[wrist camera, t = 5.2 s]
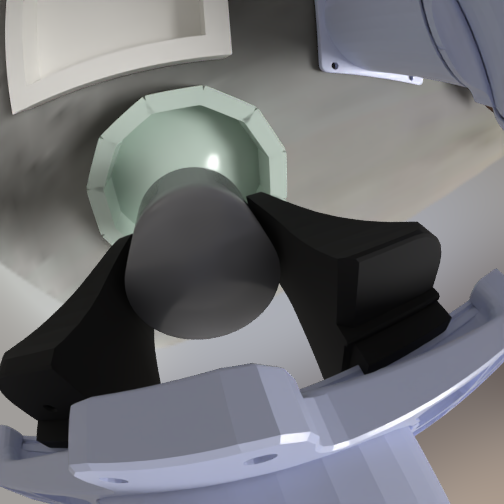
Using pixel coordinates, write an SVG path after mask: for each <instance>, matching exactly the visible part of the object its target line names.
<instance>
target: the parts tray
mask: <svg viewBox="0 0 504 504" xmlns="http://www.w3.org/2000/svg"><path fill="white" fill-rule="evenodd" d="M5 49H6V67H7V78H8V87H9V94H10V101H11V108H12V113H13V114H16V113H19V112H23V111H26V110H29V109H33V108H35V107H37V106H40V105H42V104H44V103H47V102H49V101H51V100H54V99H56V98H59V97H61V96H64V95H66V94H69V93H72V92H74V91H77V90H80V89H83V88H86V87H89V86H92V85H95V84H98V83H101V82H104V81H108V80H111V79H115V78H118V77H122V76H126V75H130V74H134V73H138V72H142V71H147V70H152V69H156V68H161V67H167V66H172V65H178V64H185V63H192V62H199V61H207V60H217V59H224V58H226V57H228V56H230V55H232V45H231V33H230V20H229V8H228V0H7V2H6V19H5Z"/></svg>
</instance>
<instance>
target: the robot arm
mask: <svg viewBox="0 0 504 504" xmlns="http://www.w3.org/2000/svg"><path fill="white" fill-rule="evenodd" d="M315 10H316V23H317V38H318V56H319V68H320V69H321V70H322V71H323V72H328V73H342V74H352V75H361V76H369V77H376V78H383V79H389V80H395V81H401V82H406V83H411V84H416V85H421V84H422V83H423V78H426V79H431V80H436V81H441V82H446V83H450V84H455V85H459V86H463V87H467V88H469V90H470V91H471V93H472V95H473V98H474V100H475V102H477V103H480V104H483V105H486V106H489V107H492V108H493V111H494V115H495V118H496V120H497V122H498V124H499V125H500V127H501V128H502V129H503V130H504V0H315ZM332 63H334V64H335V69H333V68H332ZM409 76H410V79H409ZM246 198H247V202H248V205H249V207H250V209H251V210H252V212H253V214H254V215H255V217H256V218H257V220H258V222H259V223H260V225H261V226H262V228H263V230H264V231H265V233H266V235H267V236H268V238H269V239H270V241H271V243H272V244H273V246H274V248H275V250H276V252H277V255H278V258H279V262H280V280H279V283H280V285H281V287H282V288H283V290H284V291H285V293H286V295H287V296H288V298H289V300H290V302H291V304H292V306H293V308H294V310H295V312H296V314H297V316H298V319H299V321H300V323H301V325H302V328H303V330H304V332H305V335H306V337H307V339H308V341H309V344H310V346H311V348H312V351H313V353H314V356H315V358H316V360H317V363H318V365H319V368H320V371H321V373H322V376H323V378H324V380H322V381H320V382H318V383H315V384H313V385H310V386H307V387H305V388H302V389H300V390H299V388H298V385H297V383H296V381H295V379H294V378H293V377H292V376H291V375H290V374H289V373H288V372H287V371H286V370H285V369H284V368H281V367H277V366H268V365H261V364H254V363H250V364H244V365H238V366H232V367H226V368H219V369H216V370H213V371H209V372H205V373H201V374H198V375H194V376H190V377H187V378H182V379H179V380H174V381H170V382H166V383H162V384H161V383H160V378H159V372H158V367H157V360H156V353H155V344H154V328H152V327H151V326H149V325H148V324H146V323H145V322H144V321H143V320H142V319H141V318H140V317H139V316H138V315H137V314H136V312H135V311H134V310H133V308H132V306H131V305H130V303H129V300H128V298H127V294H126V290H125V271H126V266H127V260H128V255H129V250H130V245H131V241H132V236H133V233H132V234H130V235H127V236H124V237H122V238H119V239H118V240H117V241H116V242H115V243H114V244H113V245H112V246H111V248H110V249H109V250H108V251H107V253H106V254H105V255H104V256H103V258H102V259H101V260H100V262H99V263H98V264H97V266H96V267H95V268H94V269H93V271H92V272H91V273H90V274H89V276H88V277H87V278H86V279H85V281H84V282H83V283H82V284H81V286H80V287H79V288H78V289H77V290H76V291H75V293H74V294H73V295H72V296H71V297H70V298H69V299H68V300H67V301H66V302H65V303H64V304H63V305H62V306H61V307H60V308H59V309H58V310H57V311H56V312H55V313H54V314H53V315H52V316H51V317H50V318H49V319H48V320H47V321H46V322H44V323H43V324H42V325H41V326H40V327H39V328H38V329H36V330H35V331H34V332H33V333H31V334H30V335H29V336H28V337H26V338H25V339H24V340H22V341H21V342H19V343H18V344H17V345H15V346H14V347H12V348H11V349H10V350H8V351H7V352H5V353H4V356H3V358H2V361H1V364H0V391H1V392H2V393H3V394H4V396H5V397H6V398H7V399H8V400H10V401H11V402H12V403H13V404H14V405H16V406H17V407H19V408H20V409H21V410H23V411H24V412H26V413H27V414H28V415H30V416H31V417H33V418H34V419H36V420H38V427H37V436H23V435H22V434H20V433H19V432H18V431H16V430H14V429H13V428H11V427H9V426H5V425H0V486H1V487H3V488H5V489H8V490H10V491H12V492H15V493H18V494H20V495H23V496H26V497H28V498H31V499H34V500H38V501H42V502H46V503H50V504H450V502H449V500H448V498H447V496H446V494H445V492H444V490H443V488H442V486H441V484H440V482H439V481H438V479H437V477H436V475H435V473H434V471H433V469H432V467H431V466H430V464H429V462H428V460H427V458H426V456H425V454H424V453H423V451H422V449H421V447H420V445H419V444H418V442H417V440H416V438H415V437H414V436H416V435H417V434H419V433H420V432H422V431H423V430H424V429H426V428H427V427H429V426H430V425H432V424H433V423H434V422H436V421H437V420H438V419H440V418H441V417H442V416H443V415H445V414H446V413H447V412H449V411H450V410H451V409H453V408H454V407H455V406H456V405H458V404H459V403H460V402H461V401H462V400H464V399H465V398H466V397H467V396H468V395H469V394H470V393H472V392H473V391H474V390H475V389H476V388H477V387H478V386H479V385H481V384H482V383H483V382H484V381H485V380H486V379H487V378H488V377H489V376H490V375H491V374H492V373H493V372H494V371H495V370H496V369H497V368H498V367H499V366H500V365H501V364H502V363H503V362H504V275H503V274H502V273H501V272H500V271H499V270H498V269H494V270H492V271H491V272H490V273H488V274H487V275H485V276H484V277H483V278H481V279H480V280H479V281H478V282H477V284H476V285H475V287H474V288H473V290H472V293H471V296H470V300H468V301H467V302H466V303H464V304H463V305H461V306H460V307H458V308H457V309H455V310H454V311H452V312H451V313H449V314H448V313H447V311H446V310H445V309H444V308H443V307H442V306H441V305H440V304H439V303H438V301H437V300H438V299H439V297H440V296H439V293H438V292H437V291H436V290H435V289H434V288H433V284H434V281H435V278H436V275H437V271H438V267H439V264H440V259H441V245H440V242H439V240H438V238H437V237H436V236H434V235H433V234H432V233H431V232H429V231H428V230H427V229H426V228H425V227H423V226H422V225H421V224H420V223H418V222H376V221H363V220H355V219H348V218H342V217H336V216H332V215H327V214H323V213H319V212H315V211H312V210H309V209H306V208H303V207H300V206H297V205H294V204H291V203H289V202H286V201H284V200H281V199H279V198H276V197H274V196H272V195H269V194H267V193H264V192H258V193H255V194H251V195H248V196H246Z"/></svg>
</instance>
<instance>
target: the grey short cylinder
mask: <svg viewBox="0 0 504 504" xmlns="http://www.w3.org/2000/svg"><path fill="white" fill-rule="evenodd" d="M279 280H280V262H279V258H278V255H277V252H276V250H275V248H274V246H273V244H272V243H271V241H270V239H269V238H268V236H267V235H266V233H265V231H264V230H263V228H262V226H261V225H260V223H259V222H258V220H257V218H256V217H255V215H254V214H253V212H252V210H251V209H250V207H249V205H248V204H247V202H246V201H245V199H244V198H243V196H242V194H241V193H240V191H239V190H238V188H237V187H236V186H235V184H234V183H233V182H232V181H231V180H229V179H228V178H227V177H225V176H224V175H222V174H220V173H219V172H216V171H214V170H211V169H207V168H201V167H187V168H181V169H178V170H174V171H172V172H170V173H167V174H165V175H164V176H162V177H161V178H159V179H158V180H157V181H156V182H154V183H153V184H152V185H151V187H150V188H149V189H148V190H147V192H146V193H145V195H144V197H143V199H142V201H141V204H140V207H139V210H138V214H137V219H136V223H135V227H134V232H133V236H132V241H131V245H130V250H129V255H128V260H127V266H126V271H125V290H126V294H127V298H128V300H129V303H130V305H131V306H132V308H133V310H134V311H135V312H136V314H137V315H138V316H139V317H140V318H141V319H142V320H143V321H144V322H145V323H146V324H148V325H149V326H151V327H152V328H154V329H156V330H157V331H159V332H162V333H164V334H167V335H170V336H173V337H177V338H183V339H193V340H194V339H210V338H216V337H220V336H224V335H227V334H230V333H232V332H235V331H237V330H239V329H241V328H243V327H245V326H246V325H248V324H249V323H251V322H252V321H253V320H255V319H256V318H257V317H258V316H259V315H260V314H261V313H262V312H263V311H264V310H265V309H266V308H267V307H268V305H269V304H270V302H271V301H272V299H273V297H274V295H275V293H276V291H277V288H278V285H279Z"/></svg>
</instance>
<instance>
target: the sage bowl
mask: <svg viewBox="0 0 504 504" xmlns="http://www.w3.org/2000/svg"><path fill="white" fill-rule="evenodd" d="M187 167H201V168H207V169H211V170H214V171H216V172H219V173H220V174H222V175H224V176H225V177H227V178H228V179H229V180H231V181H232V182H233V183H234V184H235V186H236V187H237V188H238V190H239V191H240V193H241V194H242V196H243V198H244V199H245V201H246V202H247V198H246V196H248V195H251V194H255V193H258V192H264V193H267V194H269V195H272V196H274V197H276V198H279V199H281V200H284V201H286V199H285V198H287V162H286V152H285V148H284V147H283V145H282V143H281V142H280V140H279V139H278V137H277V136H276V134H275V133H274V131H273V130H272V128H271V127H270V125H269V124H268V122H267V121H266V119H265V118H264V116H263V115H262V113H261V112H260V110H259V109H258V108H256V107H255V106H253V105H251V104H249V103H246V102H244V101H242V100H240V99H237V98H235V97H232V96H230V95H228V94H225V93H223V92H220V91H218V90H215V89H213V88H210V87H208V86H203V85H197V86H190V87H184V88H178V89H172V90H167V91H162V92H157V93H152V94H149V95H146V96H144V97H142V98H141V99H139V100H138V101H137V102H136V103H135V104H134V105H133V106H131V107H130V108H129V109H128V110H127V111H126V112H125V113H124V114H123V115H121V116H120V117H119V118H118V119H117V120H116V121H115V122H114V123H113V124H112V125H111V126H110V127H109V128H108V129H107V130H106V131H105V132H104V133H103V134H102V135H101V137H100V138H99V140H98V144H97V147H96V151H95V154H94V158H93V162H92V166H91V170H90V174H89V178H88V183H87V187H86V188H87V194H88V198H89V201H90V204H91V207H92V210H93V213H94V216H95V219H96V222H97V225H98V228H99V230H100V233H101V235H103V238H104V239H105V240H107V241H108V242H109V243H110V244H111V245H113V244H114V243H115V242H116V241H117V240H118V239H119V238H122V237H124V236H127V235H130V234H132V233H133V232H134V227H135V223H136V219H137V214H138V210H139V207H140V204H141V201H142V199H143V197H144V195H145V193H146V192H147V190H148V189H149V188H150V187H151V185H152V184H153V183H154V182H156V181H157V180H158V179H159V178H161V177H162V176H164V175H165V174H167V173H170V172H172V171H174V170H178V169H181V168H187ZM247 204H248V202H247Z"/></svg>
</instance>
